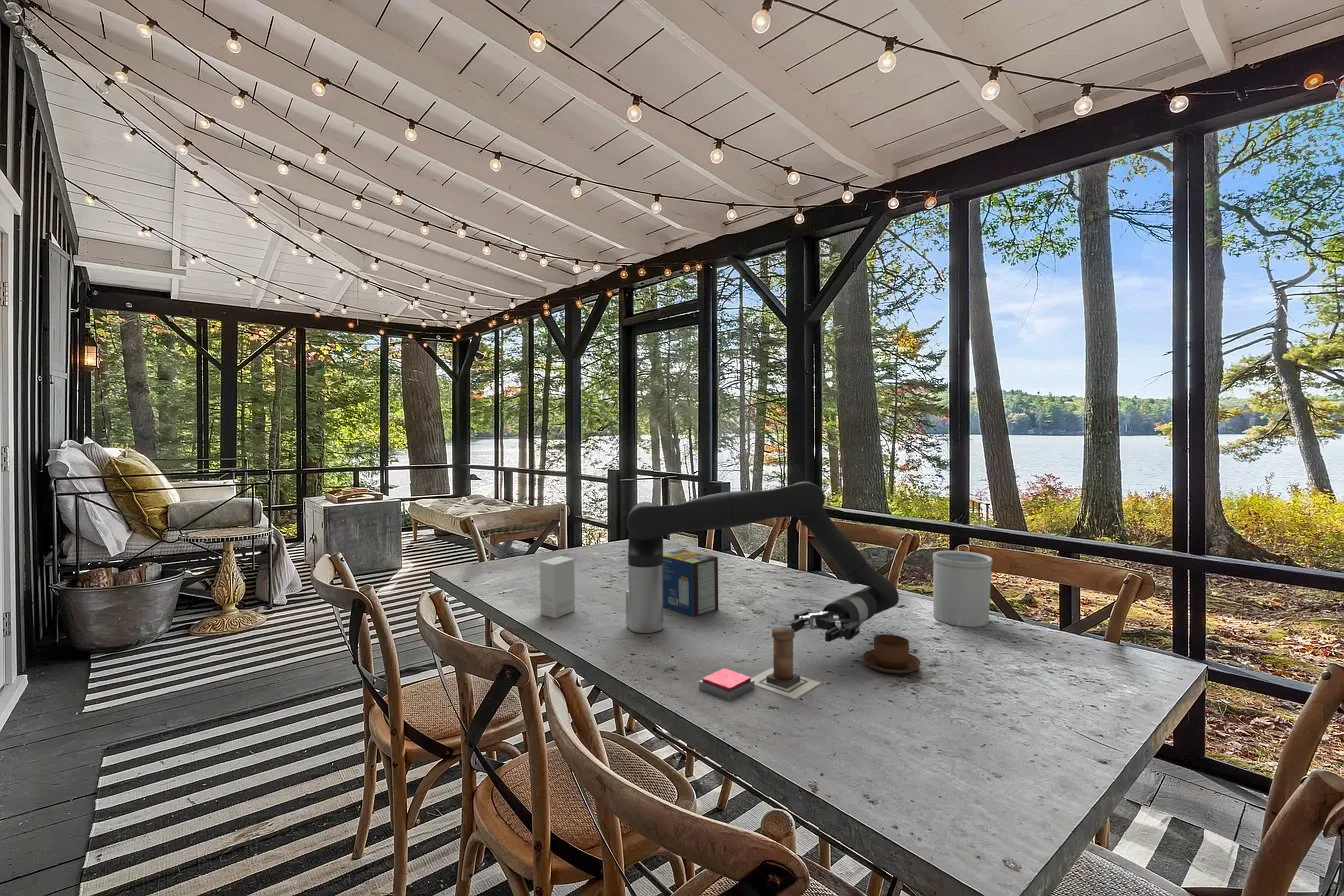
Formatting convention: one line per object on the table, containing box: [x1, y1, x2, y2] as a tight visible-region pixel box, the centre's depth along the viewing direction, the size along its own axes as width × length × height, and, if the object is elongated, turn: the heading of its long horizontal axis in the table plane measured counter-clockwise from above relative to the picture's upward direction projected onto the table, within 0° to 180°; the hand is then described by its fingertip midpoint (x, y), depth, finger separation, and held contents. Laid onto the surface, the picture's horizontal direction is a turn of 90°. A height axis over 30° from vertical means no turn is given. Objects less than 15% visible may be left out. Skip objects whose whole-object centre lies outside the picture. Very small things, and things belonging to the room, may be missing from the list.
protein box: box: [663, 549, 719, 618], centre depth 181 cm, size 10×15×16 cm
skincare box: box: [539, 555, 576, 619], centre depth 176 cm, size 8×7×16 cm
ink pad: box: [698, 668, 755, 702], centre depth 125 cm, size 8×8×2 cm
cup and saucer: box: [862, 634, 921, 675], centre depth 136 cm, size 12×12×6 cm
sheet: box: [751, 666, 822, 700], centre depth 128 cm, size 12×10×1 cm
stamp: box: [766, 626, 801, 689], centre depth 128 cm, size 5×5×11 cm
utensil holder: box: [932, 550, 993, 628], centre depth 168 cm, size 15×15×18 cm
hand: (809, 632), depth 136 cm, fingers open, 8 cm apart
